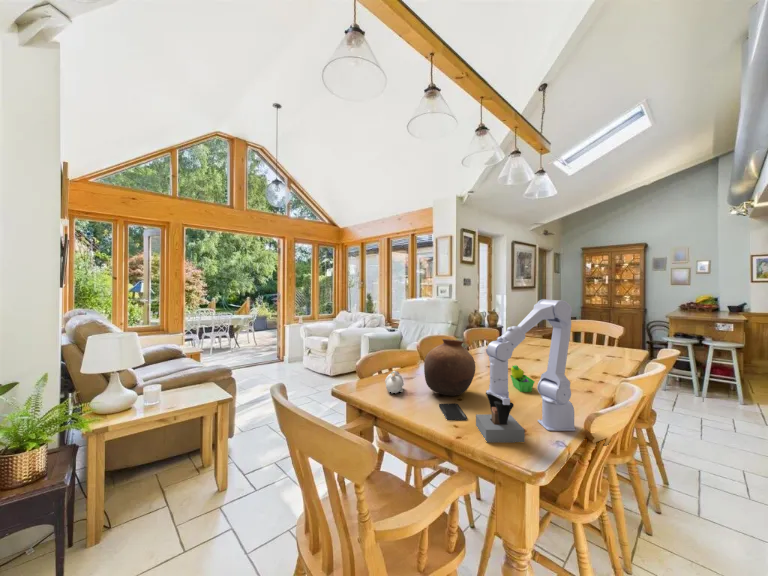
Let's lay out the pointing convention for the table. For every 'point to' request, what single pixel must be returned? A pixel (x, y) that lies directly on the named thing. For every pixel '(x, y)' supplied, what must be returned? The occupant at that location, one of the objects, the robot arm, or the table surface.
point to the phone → (452, 411)
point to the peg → (495, 416)
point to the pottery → (449, 368)
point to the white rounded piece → (394, 382)
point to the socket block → (500, 429)
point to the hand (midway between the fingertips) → (498, 418)
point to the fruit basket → (521, 380)
